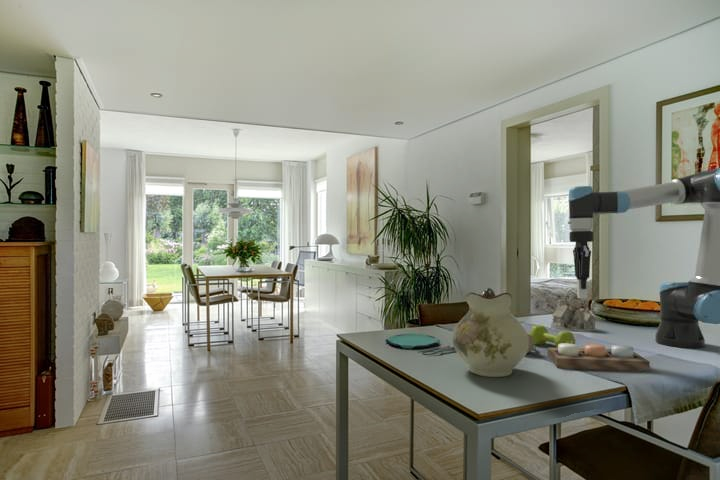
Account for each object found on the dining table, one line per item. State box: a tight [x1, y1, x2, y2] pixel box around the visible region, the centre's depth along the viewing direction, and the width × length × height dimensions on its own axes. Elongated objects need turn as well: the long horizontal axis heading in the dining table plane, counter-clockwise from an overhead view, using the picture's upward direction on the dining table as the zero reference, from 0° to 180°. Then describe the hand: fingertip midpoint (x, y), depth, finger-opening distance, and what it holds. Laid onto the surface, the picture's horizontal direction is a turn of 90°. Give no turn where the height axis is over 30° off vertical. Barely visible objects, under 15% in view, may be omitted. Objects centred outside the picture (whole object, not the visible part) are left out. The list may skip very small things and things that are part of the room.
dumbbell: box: [528, 324, 576, 348], centre depth 164 cm, size 16×8×7 cm, turn 21°
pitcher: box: [452, 287, 529, 378], centre depth 136 cm, size 22×24×25 cm
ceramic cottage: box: [550, 294, 597, 333], centre depth 197 cm, size 16×16×15 cm
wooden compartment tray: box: [546, 347, 651, 371], centre depth 142 cm, size 26×14×3 cm, turn 78°
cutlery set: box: [385, 332, 457, 358], centre depth 169 cm, size 20×30×2 cm, turn 27°
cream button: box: [558, 343, 579, 356], centre depth 144 cm, size 6×6×4 cm
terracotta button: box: [583, 343, 606, 357], centre depth 142 cm, size 6×6×4 cm
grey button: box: [610, 344, 634, 358], centre depth 141 cm, size 6×6×4 cm
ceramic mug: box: [526, 333, 537, 354], centre depth 159 cm, size 11×8×8 cm
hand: (582, 297), depth 155 cm, fingers closed
